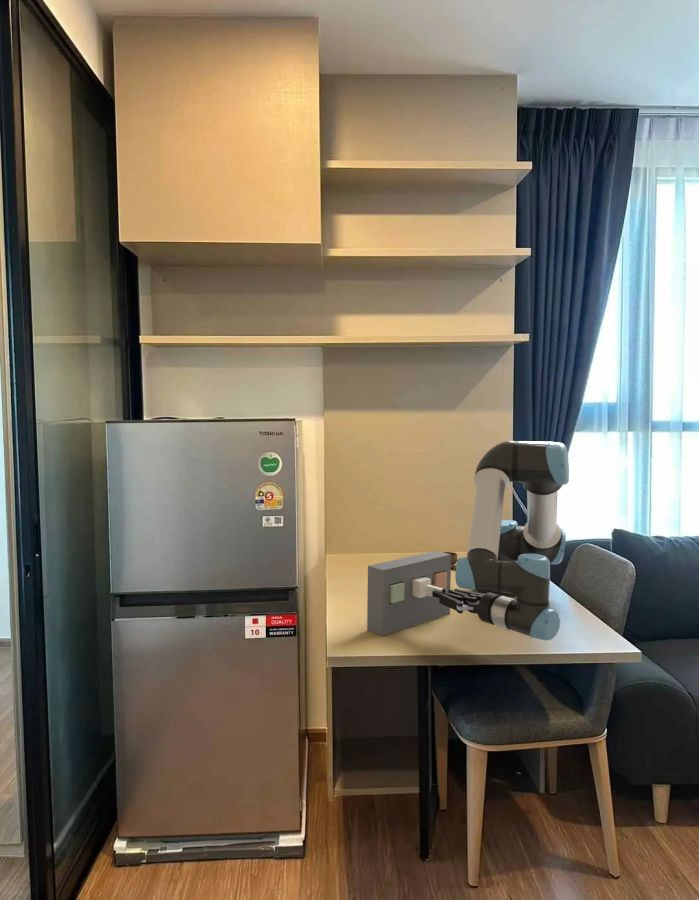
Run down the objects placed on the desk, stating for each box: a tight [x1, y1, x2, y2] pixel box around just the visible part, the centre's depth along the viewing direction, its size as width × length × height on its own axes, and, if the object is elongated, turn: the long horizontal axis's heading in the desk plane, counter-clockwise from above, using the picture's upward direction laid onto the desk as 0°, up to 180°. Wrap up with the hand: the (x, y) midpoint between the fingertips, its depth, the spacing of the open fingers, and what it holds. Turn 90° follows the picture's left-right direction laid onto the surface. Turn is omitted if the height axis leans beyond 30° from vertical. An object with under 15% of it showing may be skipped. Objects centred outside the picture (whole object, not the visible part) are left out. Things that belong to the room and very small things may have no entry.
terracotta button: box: [433, 571, 447, 589], centre depth 194 cm, size 5×6×5 cm
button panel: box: [366, 550, 452, 637], centre depth 189 cm, size 28×6×18 cm, turn 132°
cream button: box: [412, 576, 431, 598], centre depth 186 cm, size 5×6×5 cm
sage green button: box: [389, 582, 404, 603], centre depth 182 cm, size 5×6×5 cm
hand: (427, 589), depth 184 cm, fingers closed
